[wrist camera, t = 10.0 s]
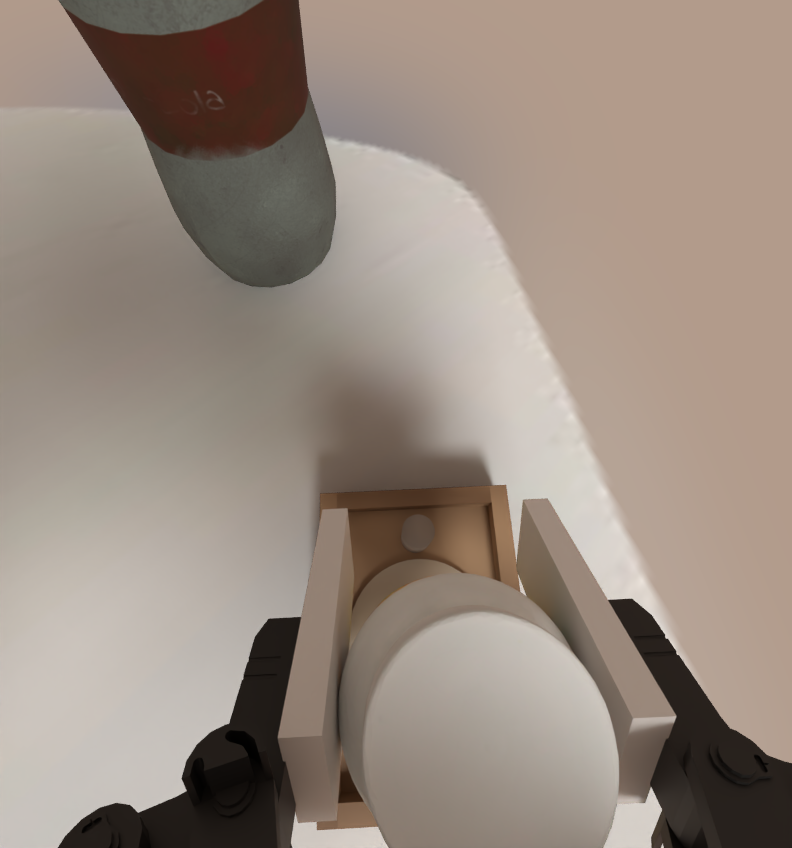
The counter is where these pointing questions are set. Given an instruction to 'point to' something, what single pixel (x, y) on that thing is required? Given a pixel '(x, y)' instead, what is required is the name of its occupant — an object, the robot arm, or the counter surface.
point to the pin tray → (417, 563)
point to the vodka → (225, 124)
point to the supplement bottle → (475, 722)
